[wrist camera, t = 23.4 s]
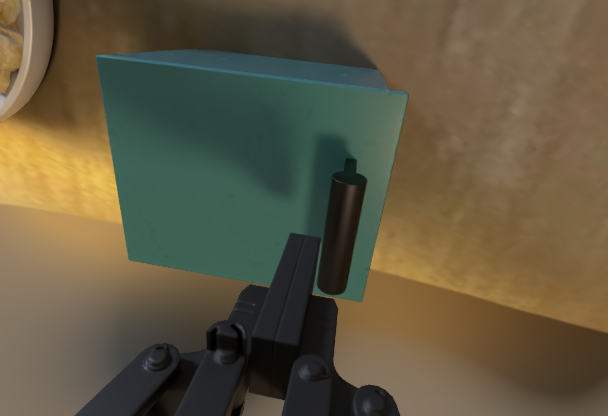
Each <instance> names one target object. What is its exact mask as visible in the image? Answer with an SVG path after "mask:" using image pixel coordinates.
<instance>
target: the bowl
mask: <svg viewBox="0 0 608 416" xmlns="http://www.w3.org/2000/svg"><path fill="white" fill-rule="evenodd" d="M53 30H54V14H53V2H52V0H0V122H2V121H4V120H6V119H8V118H9V117H11V116H12V115H14V114H15V113H16V112H18V111H19V110H20V109H21V108H22V107H23V106H24V105H25V104H26V103H27V102H28V101H29V100H30V99H31V97H32V96H33V95H34V93H35V92H36V90H37V89H38V87H39V85H40V83H41V81H42V79H43V77H44V75H45V72H46V69H47V66H48V63H49V59H50V55H51V49H52V43H53Z"/></svg>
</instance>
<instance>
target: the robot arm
mask: <svg viewBox="0 0 608 416" xmlns="http://www.w3.org/2000/svg"><path fill="white" fill-rule="evenodd" d="M320 242H321V238H320V237H314V236H308V235H303V234H297V233H291V232H290V235H289V238H288V240H287V243H286V246H285V248H284V251H283V254H282V256H281V259H280V262H279V264H278V267H277V269H276V272H275V275H274V277H273V280H272V283H271V285H270V288H267V287H261V286H255V285H249V286H248V287H246V288H245V289H244V290H243V291H242V292H241V293H240V295H239V298H238V300H237V303H236V304H235V306H234V308H233V310H232V312H231V314H230V316H229V318H228V320H224V321H220V322H217V323H215V324H214V325H213V326H211V327H210V328H209V329H208V330H207V332H206V336H207V349H205V350H202V351H199V352H191V353H179V351H178V349H177V348H176V347H174V346H173V345H170V344H166V343H164V344H156V345H153V346H151V347H148V348H147V349H145V350H144V351H143V352H141V353H140V354H139V355H138V356H137V357H136V358H135V359H134V360H133V361H132V362H131V363H130V364H129V365H128V366H127V367H125V368H124V369H123V370H122V371H121V372H120V373H119V374H118V375H117V376H116V377H115V378H114V379H113V380H112V381H111V382H110V383H109V384H108V385H106V386H105V387H104V388H103V389H102V390H101V391H100V392H99V393H98V394H97V395H96V396H95V397H94V398H93V399H92V400H91V401H90V402H89V403H88V404H86V406H85V407H83V408H82V409H81V410H80V411H79V412H78V413H77V414H76V415H75V416H242V413H243V410H244V404H245V396H246V393H247V389H248V387H249V393H254V394H258V395H263V396H268V397H273V398H277V399H282V400H285V402H284V407H283V411H282V416H400V414H399V411H398V408H397V405H396V403H395V401H394V399H393V397H392V396H391V395H390V394H389V393H388V392H387V391H386V390H384V389H382V388H380V387H378V386H374V385H366V386H362V387H360V388H359V389H358V388H357V387H355V386H353V385H351V384H349V383H348V382H346V381H345V380H343V379H342V378H341V377H340V376H339V375H338V373H337V372H336V370H335V367H334V363H333V357H334V345H335V336H336V325H337V314H338V308H337V306H336V303H335V301H334V299H330V298H325V297H320V296H314V295H312V293H313V288H314V283H315V276H316V269H317V262H318V256H319V249H320Z"/></svg>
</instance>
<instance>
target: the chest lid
mask: <svg viewBox="0 0 608 416" xmlns="http://www.w3.org/2000/svg"><path fill="white" fill-rule="evenodd" d="M96 61H97V67H98V73H99V79H100V86H101V92H102V98H103V104H104V110H105V116H106V123H107V129H108V135H109V141H110V147H111V153H112V160H113V166H114V172H115V178H116V184H117V190H118V197H119V203H120V209H121V215H122V221H123V227H124V234H125V239H126V246H127V252H128V258H129V260H130V261H136V262H141V263H147V264H152V265H158V266H164V267H169V268H175V269H181V270H186V271H192V272H197V273H203V274H208V275H213V276H219V277H225V278H230V279H236V280H242V281H247V282H252V283H258V284H264V285H269V286H270V285H271V283H272V280H273V277H274V275H275V272H276V269H277V267H278V264H279V262H280V259H281V256H282V254H283V251H284V248H285V246H286V243H287V240H288V238H289V235H290V232H291V233H297V234H303V235H308V236H314V237H320V238H321V242H320V249H319V256H318V262H317V269H316V276H315V283H314V288H313V293H314V294H319V295H324V296H330V297H335V298H341V299H346V300H353V301H358V302H362V299H363V295H364V291H365V287H366V282H367V278H368V273H369V269H370V265H371V260H372V256H373V251H374V247H375V243H376V238H377V234H378V229H379V225H380V221H381V216H382V212H383V207H384V203H385V199H386V194H387V190H388V185H389V181H390V177H391V172H392V168H393V163H394V159H395V155H396V150H397V146H398V141H399V137H400V133H401V128H402V124H403V119H404V115H405V111H406V106H407V102H408V97H409V94H408V93H407V92H403V91H395V90H387V89H379V88H371V87H363V86H354V85H346V84H338V83H330V82H322V81H314V80H306V79H297V78H289V77H281V76H273V75H265V74H257V73H249V72H240V71H232V70H224V69H216V68H208V67H200V66H192V65H183V64H175V63H167V62H159V61H151V60H143V59H135V58H126V57H118V56H110V55H97V56H96Z"/></svg>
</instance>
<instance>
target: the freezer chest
mask: <svg viewBox="0 0 608 416" xmlns="http://www.w3.org/2000/svg"><path fill="white" fill-rule="evenodd" d="M107 55H110V56H118V57H126V58H135V59H143V60H151V61H159V62H167V63H175V64H183V65H192V66H200V67H208V68H216V69H224V70H232V71H240V72H249V73H257V74H265V75H273V76H281V77H289V78H297V79H306V80H314V81H322V82H330V83H338V84H346V85H354V86H363V87H371V88H379V89H387V90H389V88H388V86H387V84H386V82H385V80H384V78H383V76H382V74H381V72H380V70H376V69H368V68H359V67H351V66H342V65H334V64H325V63H317V62H308V61H300V60H291V59H283V58H275V57H266V56H258V55H249V54H241V53H232V52H224V51H215V50H207V49H184V50H168V51H153V52H138V53H122V54H107Z"/></svg>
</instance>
